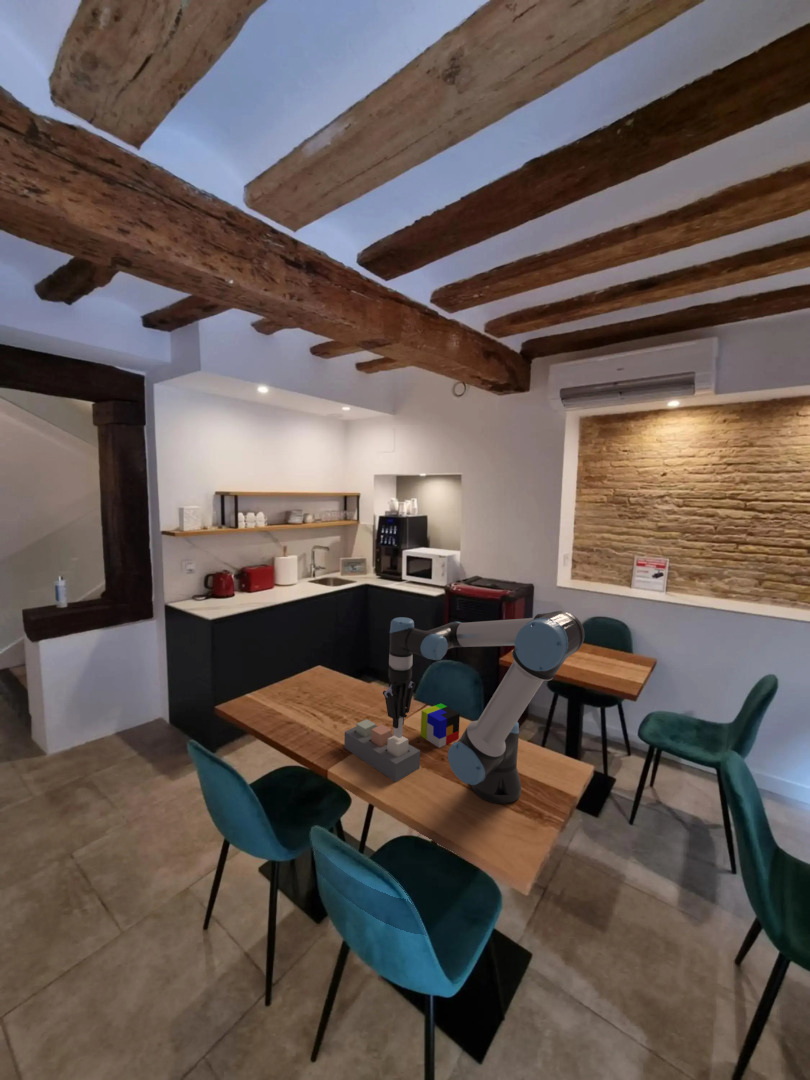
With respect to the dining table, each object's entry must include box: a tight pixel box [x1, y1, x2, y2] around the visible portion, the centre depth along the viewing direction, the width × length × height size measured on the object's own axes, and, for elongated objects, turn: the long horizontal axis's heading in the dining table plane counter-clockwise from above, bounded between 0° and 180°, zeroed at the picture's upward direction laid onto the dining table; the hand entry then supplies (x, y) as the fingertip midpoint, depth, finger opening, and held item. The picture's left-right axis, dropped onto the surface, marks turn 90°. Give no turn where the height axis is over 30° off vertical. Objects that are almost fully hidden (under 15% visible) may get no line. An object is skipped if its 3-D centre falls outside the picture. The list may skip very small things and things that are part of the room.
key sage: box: [355, 718, 377, 738], centre depth 160 cm, size 5×5×8 cm
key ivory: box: [387, 735, 409, 758], centre depth 148 cm, size 5×5×8 cm
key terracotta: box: [371, 724, 393, 748], centre depth 154 cm, size 5×5×8 cm
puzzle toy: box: [420, 702, 461, 748], centre depth 168 cm, size 10×10×10 cm
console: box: [343, 725, 421, 783], centre depth 154 cm, size 26×11×6 cm, turn 45°
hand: (397, 735), depth 148 cm, fingers closed
